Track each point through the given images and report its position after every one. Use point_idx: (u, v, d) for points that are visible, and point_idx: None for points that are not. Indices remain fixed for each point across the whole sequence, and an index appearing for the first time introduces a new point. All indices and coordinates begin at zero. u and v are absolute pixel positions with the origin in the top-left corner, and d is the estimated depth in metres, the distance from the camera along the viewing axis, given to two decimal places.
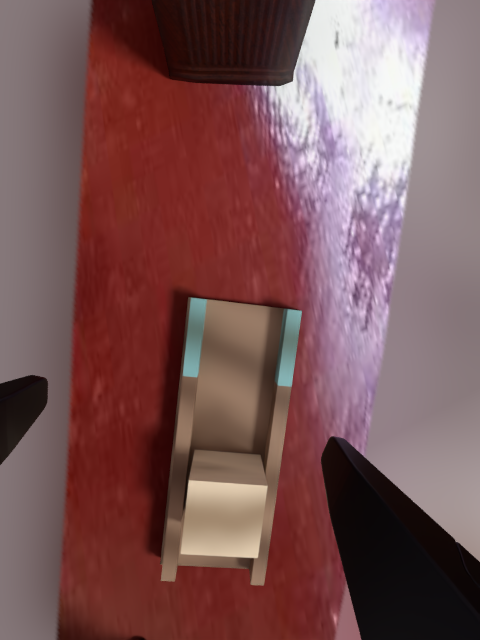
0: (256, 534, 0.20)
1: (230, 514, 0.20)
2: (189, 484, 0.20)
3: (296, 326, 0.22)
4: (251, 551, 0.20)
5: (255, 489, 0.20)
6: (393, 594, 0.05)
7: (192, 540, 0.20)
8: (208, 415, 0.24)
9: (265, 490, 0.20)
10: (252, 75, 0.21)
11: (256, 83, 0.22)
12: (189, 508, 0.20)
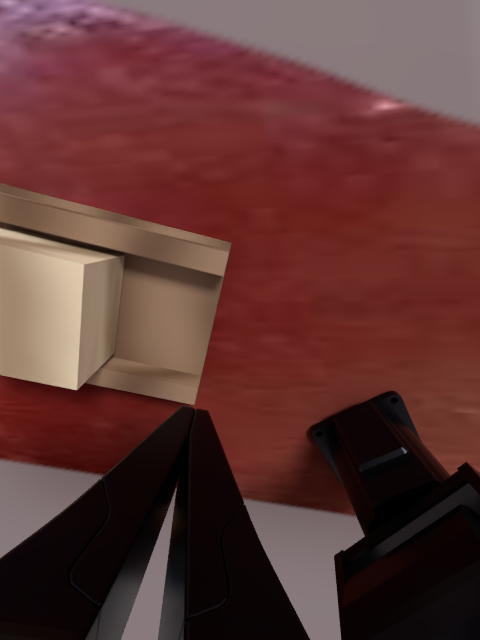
0: (31, 261, 0.10)
1: None
2: None
3: None
4: (69, 275, 0.11)
5: None
6: (174, 560, 0.05)
7: (51, 370, 0.12)
8: None
9: None
10: None
11: None
12: None
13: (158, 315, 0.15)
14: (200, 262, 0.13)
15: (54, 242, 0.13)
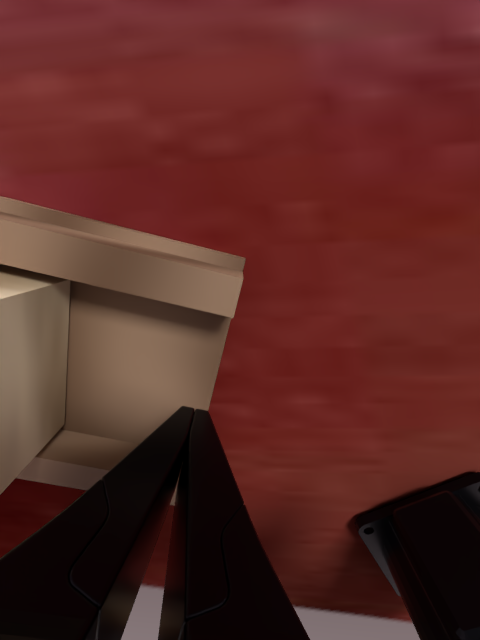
0: None
1: None
2: None
3: None
4: None
5: None
6: (174, 560, 0.05)
7: None
8: None
9: None
10: None
11: None
12: None
13: (129, 370, 0.10)
14: (193, 294, 0.08)
15: None
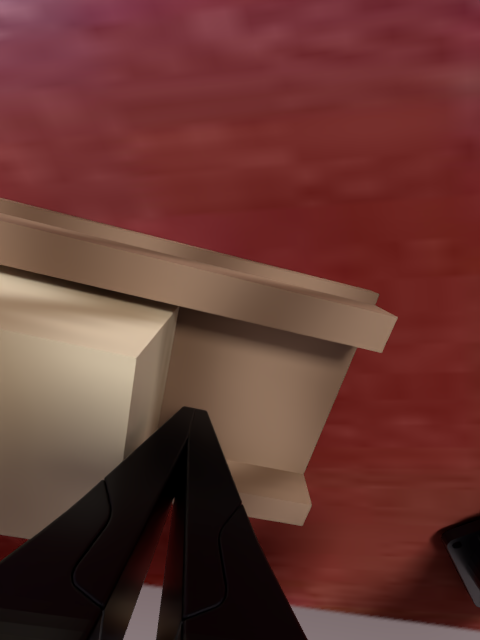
0: (33, 352, 0.05)
1: None
2: None
3: None
4: (106, 376, 0.05)
5: None
6: (172, 560, 0.05)
7: None
8: None
9: None
10: None
11: None
12: None
13: (252, 395, 0.10)
14: (347, 331, 0.08)
15: (71, 292, 0.08)
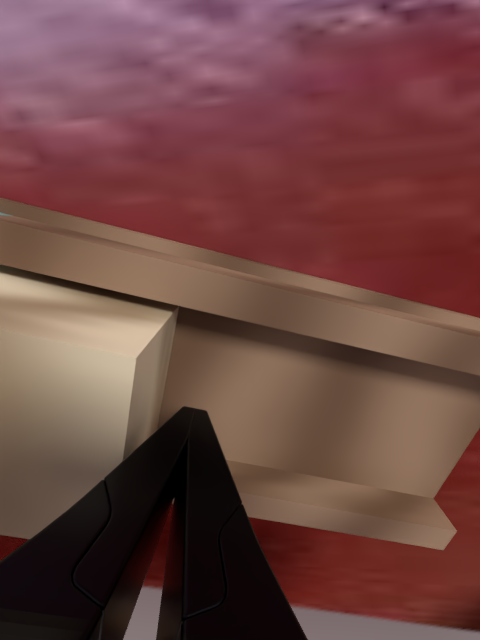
0: (33, 352, 0.05)
1: None
2: None
3: None
4: (106, 376, 0.05)
5: None
6: (172, 560, 0.05)
7: None
8: None
9: None
10: None
11: None
12: None
13: (400, 426, 0.11)
14: None
15: (71, 292, 0.08)
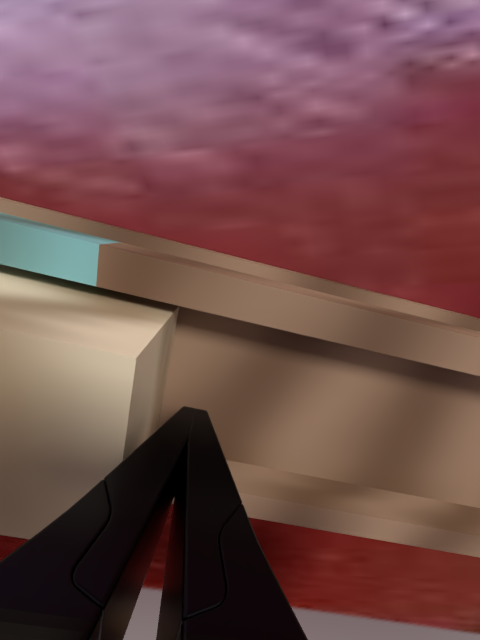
0: (33, 352, 0.05)
1: None
2: None
3: None
4: (106, 376, 0.05)
5: None
6: (172, 560, 0.05)
7: None
8: None
9: None
10: None
11: None
12: None
13: (473, 442, 0.11)
14: None
15: (71, 292, 0.08)
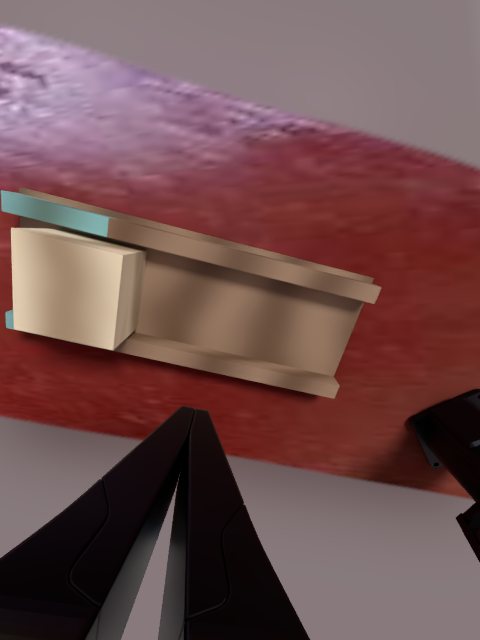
0: (86, 252, 0.15)
1: (57, 284, 0.15)
2: (20, 328, 0.16)
3: (23, 200, 0.16)
4: (112, 263, 0.15)
5: (18, 245, 0.14)
6: (174, 560, 0.05)
7: (94, 335, 0.16)
8: (159, 322, 0.20)
9: (19, 231, 0.14)
10: None
11: None
12: (51, 333, 0.16)
13: (309, 330, 0.20)
14: (359, 294, 0.18)
15: (95, 240, 0.17)
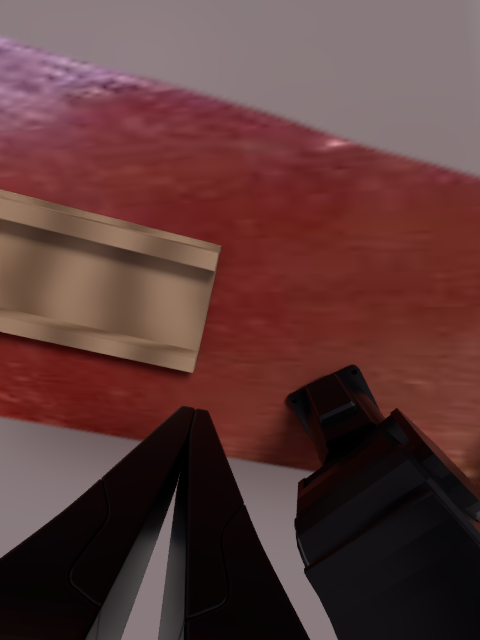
0: None
1: None
2: None
3: None
4: None
5: None
6: (174, 560, 0.05)
7: None
8: (8, 293, 0.20)
9: None
10: None
11: None
12: None
13: (165, 302, 0.20)
14: (197, 260, 0.17)
15: None
